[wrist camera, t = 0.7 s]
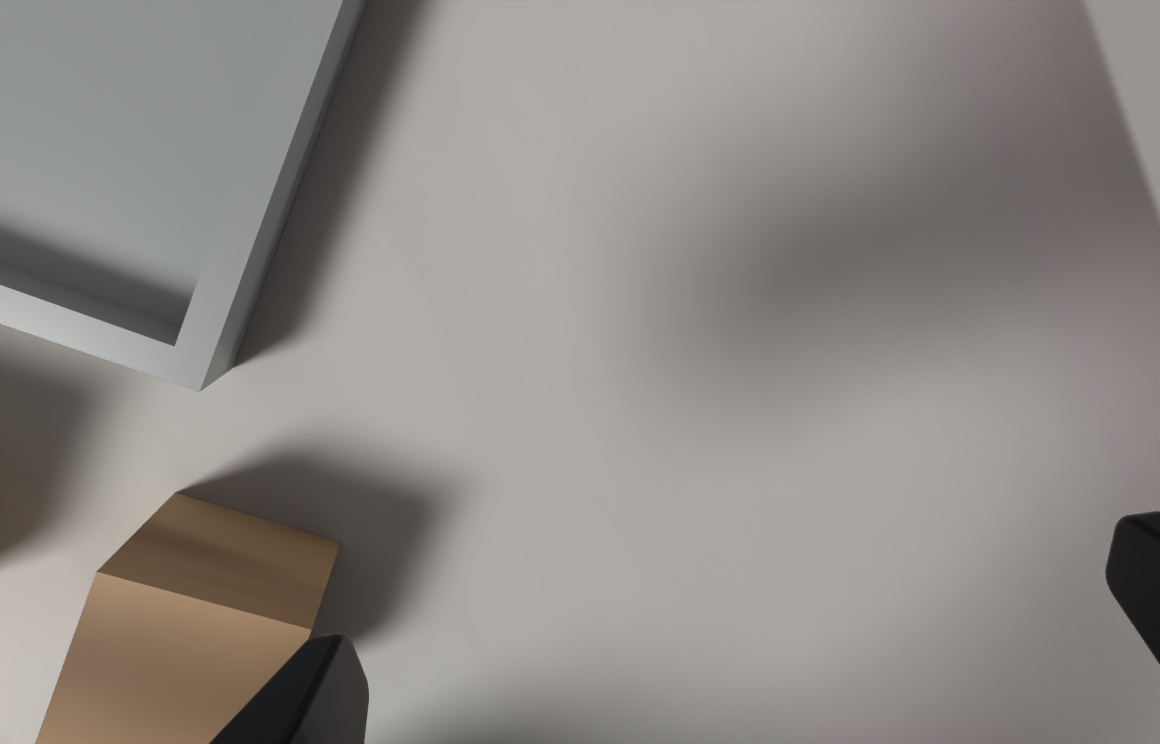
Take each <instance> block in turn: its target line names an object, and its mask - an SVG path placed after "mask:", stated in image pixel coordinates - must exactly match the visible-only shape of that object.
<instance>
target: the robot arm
mask: <svg viewBox="0 0 1160 744" xmlns="http://www.w3.org/2000/svg"><path fill="white" fill-rule="evenodd" d="M1105 572H1106V580H1107V584H1108V586H1109V588H1110V591H1111V592H1112V594H1113V596H1114V597H1115V599H1116V600H1117V602H1118V603H1119V605H1120V606H1121V608H1122V609H1123V611H1124V612H1125V614H1126V615H1127V617H1128V618H1129V620H1130V621H1131V623H1132V624H1133V626H1134V627H1135V628H1136V630H1137V631H1138V633H1139V634H1140V636H1141V637H1142V639H1143V640H1144V642H1145V643H1146V645H1147V646H1148V648H1149V649H1150V651H1151V652H1152V654H1153V655H1154V657H1155V658H1156V660H1157V661H1158V663H1159V664H1160V512H1158V511H1155V512H1147V513H1140V514H1133V515H1127V516H1124V517H1122V518H1121V519H1120V520H1119V521H1118V522H1117V524H1116V526H1115V530H1114V535H1113V539H1112V543H1111V548H1110V552H1109V556H1108V561H1107V565H1106V571H1105ZM368 703H369V689H368V682H367V679H366V676H365V673H364V671H363V668H362V666H361V663H360V661H359V658H358V656H357V653H356V651H355V648H354V646H353V643H352V641H351V639H350V637H349V636H348V635H347V634H346V633H343V632H337V633H330V634H324V635H317V636H313V637H311V638H309V639H308V640H307V641H306V642H305V643H304V644H303V645H302V646H301V647H300V648H299V649H298V650H297V651H296V652H295V653H294V654H293V655H292V656H291V657H290V658H289V659H288V660H287V661H286V663H285V664H284V665H283V666H282V667H281V668H280V669H279V670H278V671H277V672H276V673H275V674H274V675H273V676H272V677H271V678H270V679H269V680H268V681H267V683H266V684H265V685H264V686H263V687H262V688H261V689H260V690H259V691H258V692H257V693H256V694H255V695H254V696H253V697H252V698H251V699H250V700H249V701H248V702H247V704H246V705H245V706H244V707H243V708H242V709H241V710H240V711H239V712H238V713H237V714H236V715H235V716H234V717H233V718H232V719H231V720H230V721H229V722H228V724H227V725H226V726H225V727H224V728H223V729H222V730H221V731H220V732H219V733H218V734H217V735H216V736H215V737H214V738H213V739H212V740H211V741H210V742H209V744H364V740H365V731H366V721H367V712H368Z"/></svg>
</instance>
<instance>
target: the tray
mask: <svg viewBox="0 0 1160 744" xmlns="http://www.w3.org/2000/svg"><path fill="white" fill-rule="evenodd" d="M367 3H368V0H0V324H3V325H6V326H9V327H12V328H15V329H18V330H21V331H24V332H26V333H29V334H32V335H35V336H38V337H41V338H44V339H47V340H50V341H53V342H56V343H59V344H62V345H65V346H67V347H70V348H73V349H76V350H79V351H82V352H85V353H88V354H91V355H94V356H97V357H100V358H103V359H105V360H108V361H111V362H114V363H117V364H120V365H123V366H126V367H129V368H132V369H135V370H138V371H141V372H144V373H146V374H149V375H152V376H155V377H158V378H161V379H164V380H167V381H170V382H173V383H176V384H179V385H182V386H185V387H187V388H190V389H193V390H196V391H199V392H200V391H201V390H203V389H204V388H206V387H207V386H208V385H210V384H211V383H213V382H214V381H215V380H217V379H218V378H220V377H221V376H222V375H224V374H225V373H227V372H228V371H229V370H231V369H232V367H233V364H234V361H235V359H236V356H237V353H238V351H239V348H240V345H241V343H242V340H243V337H244V334H245V332H246V329H247V326H248V324H249V321H250V318H251V316H252V313H253V310H254V307H255V305H256V302H257V299H258V297H259V294H260V291H261V289H262V286H263V283H264V281H265V278H266V275H267V272H268V270H269V267H270V264H271V262H272V259H273V256H274V254H275V251H276V248H277V245H278V243H279V240H280V237H281V235H282V232H283V229H284V227H285V224H286V221H287V218H288V216H289V213H290V210H291V208H292V205H293V202H294V200H295V197H296V194H297V192H298V189H299V186H300V183H301V181H302V178H303V175H304V173H305V170H306V167H307V165H308V162H309V159H310V156H311V154H312V151H313V148H314V146H315V143H316V140H317V138H318V135H319V132H320V129H321V127H322V124H323V121H324V119H325V116H326V113H327V111H328V108H329V105H330V102H331V100H332V97H333V94H334V92H335V89H336V86H337V84H338V81H339V78H340V76H341V73H342V70H343V67H344V65H345V62H346V59H347V57H348V54H349V51H350V49H351V46H352V43H353V40H354V38H355V35H356V32H357V30H358V27H359V24H360V22H361V19H362V16H363V13H364V11H365V8H366V5H367Z"/></svg>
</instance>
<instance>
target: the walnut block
mask: <svg viewBox="0 0 1160 744" xmlns="http://www.w3.org/2000/svg"><path fill="white" fill-rule="evenodd" d="M340 543H341V542H338V541H334V540H331V539H328V538H325V537H321V536H318V535H315V534H311V533H308V532H305V531H301V530H298V529H295V528H292V527H288V526H285V525H282V524H278V523H275V522H272V521H268V520H265V519H262V518H259V517H255V516H252V515H249V514H245V513H242V512H239V511H235V510H232V509H229V508H226V507H222V506H219V505H216V504H212V503H209V502H206V501H202V500H199V499H196V498H193V497H189V496H186V495H183V494H179V493H176V492H175V493H174V494H173V495H172V496H171V497H170V498H169V499H168V500H167V501H166V502H165V503H164V504H163V505H162V506H161V507H160V508H159V509H158V510H157V511H156V512H155V513H154V514H153V515H152V516H151V517H150V518H149V519H148V520H147V521H146V522H145V523H144V524H143V525H142V526H141V527H140V528H139V529H138V530H137V532H136V533H135V534H134V535H133V536H132V537H131V538H130V539H129V540H128V541H127V542H126V543H125V544H124V545H123V546H122V547H121V548H120V549H119V550H118V551H117V552H116V553H115V554H114V555H113V556H112V557H111V558H110V559H109V560H108V561H107V562H106V563H105V564H104V565H103V566H102V567H101V568H100V569H99V570H98V571H97V572H96V575H95V578H94V580H93V583H92V586H91V589H90V592H89V594H88V597H87V600H86V603H85V606H84V608H83V611H82V614H81V617H80V620H79V622H78V625H77V628H76V631H75V634H74V636H73V639H72V642H71V645H70V648H69V650H68V653H67V656H66V659H65V662H64V664H63V667H62V670H61V673H60V676H59V678H58V681H57V684H56V687H55V690H54V692H53V695H52V698H51V701H50V704H49V706H48V709H47V712H46V715H45V718H44V720H43V723H42V726H41V729H40V732H39V734H38V737H37V740H36V743H35V744H209V742H210V741H211V740H212V739H213V738H214V737H215V736H216V735H217V734H218V733H219V732H220V731H221V730H222V729H223V728H224V727H225V726H226V725H227V724H228V722H229V721H230V720H231V719H232V718H233V717H234V716H235V715H236V714H237V713H238V712H239V711H240V710H241V709H242V708H243V707H244V706H245V705H246V704H247V702H248V701H249V700H250V699H251V698H252V697H253V696H254V695H255V694H256V693H257V692H258V691H259V690H260V689H261V688H262V687H263V686H264V685H265V684H266V683H267V681H268V680H269V679H270V678H271V677H272V676H273V675H274V674H275V673H276V672H277V671H278V670H279V669H280V668H281V667H282V666H283V665H284V664H285V663H286V661H287V660H288V659H289V658H290V657H291V656H292V655H293V654H294V653H295V652H296V651H297V650H298V649H299V648H300V647H301V646H302V645H303V644H304V643H305V642H306V641H307V640H308V638H309V636H310V633H311V631H312V628H313V625H314V622H315V619H316V616H317V613H318V610H319V607H320V604H321V601H322V598H323V594H324V591H325V588H326V585H327V582H328V579H329V576H330V573H331V570H332V567H333V564H334V561H335V558H336V555H337V552H338V549H339V546H340Z"/></svg>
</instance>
